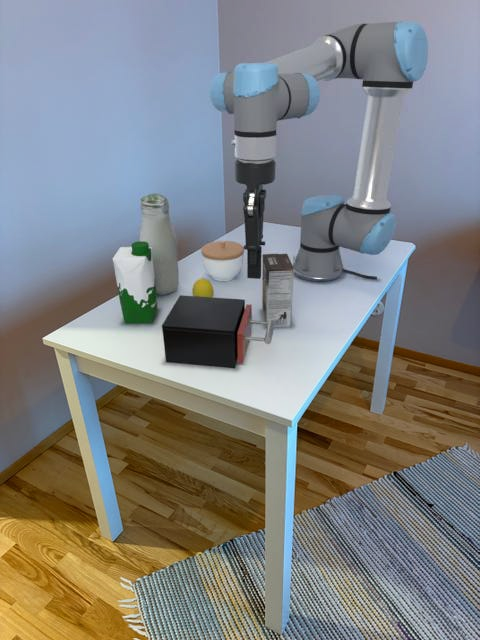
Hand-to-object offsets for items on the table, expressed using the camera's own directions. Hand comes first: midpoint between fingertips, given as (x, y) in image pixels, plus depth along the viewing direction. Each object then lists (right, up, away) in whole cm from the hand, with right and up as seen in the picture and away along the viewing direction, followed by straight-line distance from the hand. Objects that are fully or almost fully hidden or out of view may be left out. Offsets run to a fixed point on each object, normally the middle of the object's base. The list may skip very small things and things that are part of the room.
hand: (254, 276), depth 97 cm
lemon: (-13, -5, +29) cm, 33 cm away
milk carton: (-29, -8, +24) cm, 39 cm away
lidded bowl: (-8, +4, +45) cm, 46 cm away
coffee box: (+6, -9, +23) cm, 25 cm away
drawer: (-5, -15, +10) cm, 19 cm away
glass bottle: (-25, -1, +36) cm, 44 cm away
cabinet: (-11, -15, +11) cm, 22 cm away
